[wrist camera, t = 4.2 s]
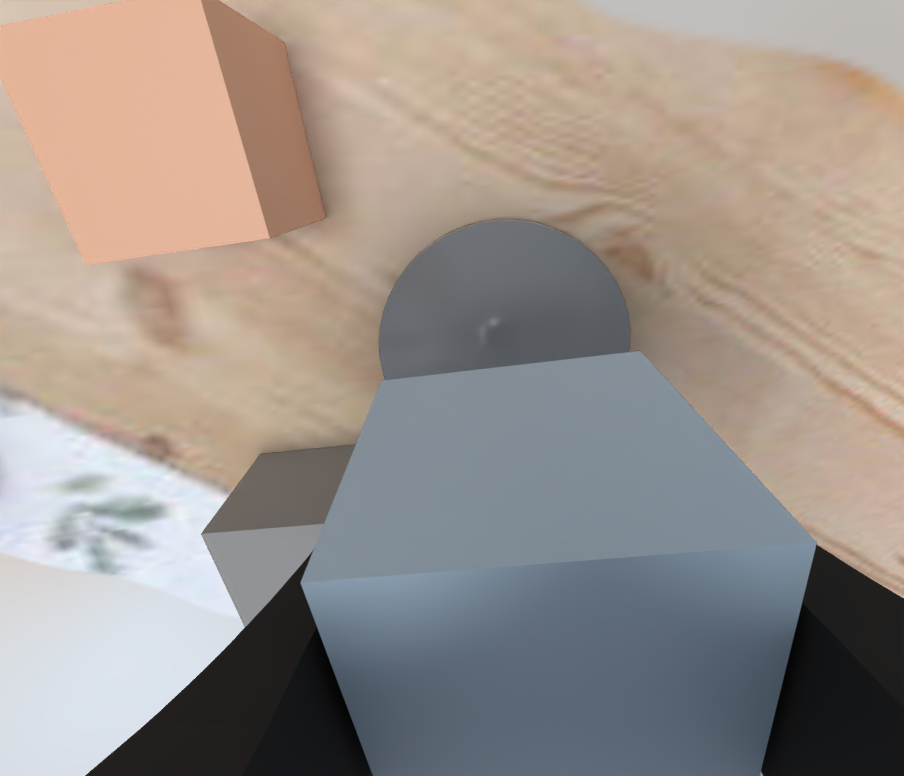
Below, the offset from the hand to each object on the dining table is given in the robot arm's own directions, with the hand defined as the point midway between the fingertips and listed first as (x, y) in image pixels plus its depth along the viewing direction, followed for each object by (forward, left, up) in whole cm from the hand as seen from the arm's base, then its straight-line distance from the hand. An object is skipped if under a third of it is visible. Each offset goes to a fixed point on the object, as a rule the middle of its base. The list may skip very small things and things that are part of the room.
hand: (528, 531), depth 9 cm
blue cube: (0, 0, -2) cm, 2 cm away
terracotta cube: (+11, -2, -10) cm, 15 cm away
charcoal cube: (+3, +10, -10) cm, 15 cm away
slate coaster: (0, 0, -10) cm, 10 cm away
